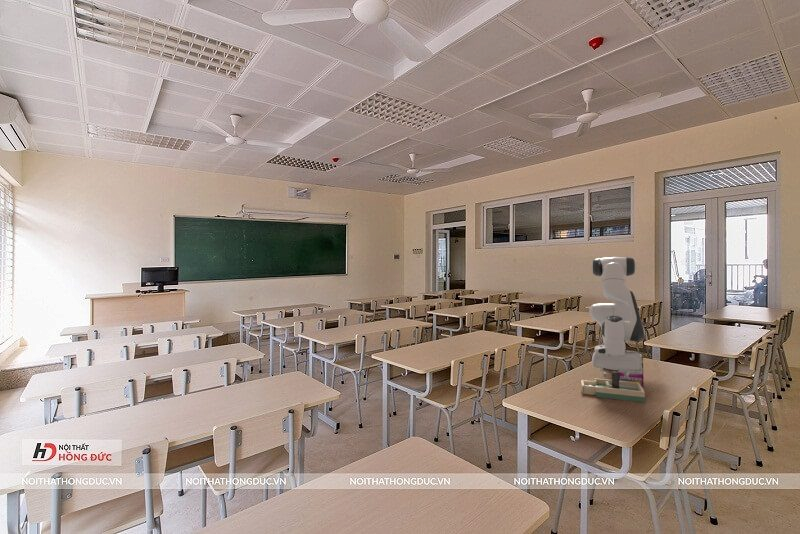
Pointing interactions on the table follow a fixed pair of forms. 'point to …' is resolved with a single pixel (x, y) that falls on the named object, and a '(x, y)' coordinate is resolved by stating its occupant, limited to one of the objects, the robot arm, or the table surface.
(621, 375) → the candy bar box
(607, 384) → the rod
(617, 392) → the pitch
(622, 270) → the robot arm
